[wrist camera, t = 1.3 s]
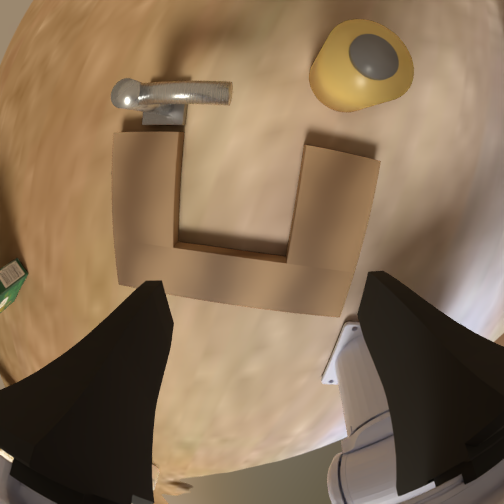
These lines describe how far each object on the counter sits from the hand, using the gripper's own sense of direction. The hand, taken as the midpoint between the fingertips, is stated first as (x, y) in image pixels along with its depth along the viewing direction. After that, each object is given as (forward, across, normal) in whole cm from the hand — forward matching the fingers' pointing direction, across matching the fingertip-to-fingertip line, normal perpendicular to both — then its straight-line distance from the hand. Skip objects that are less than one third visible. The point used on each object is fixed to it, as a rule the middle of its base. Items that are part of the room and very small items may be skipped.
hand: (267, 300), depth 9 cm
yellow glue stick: (+11, -6, -8) cm, 15 cm away
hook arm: (+12, +4, -7) cm, 14 cm away
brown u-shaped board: (+10, +2, +2) cm, 11 cm away
